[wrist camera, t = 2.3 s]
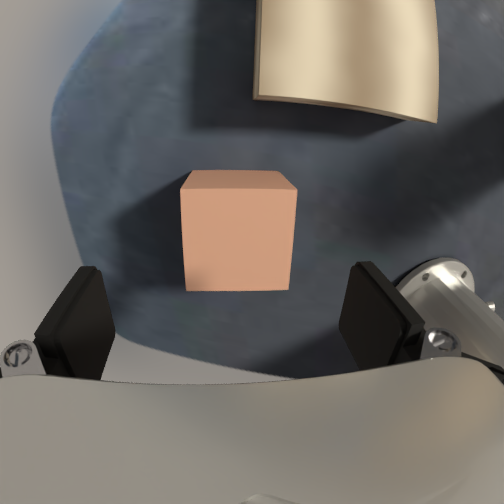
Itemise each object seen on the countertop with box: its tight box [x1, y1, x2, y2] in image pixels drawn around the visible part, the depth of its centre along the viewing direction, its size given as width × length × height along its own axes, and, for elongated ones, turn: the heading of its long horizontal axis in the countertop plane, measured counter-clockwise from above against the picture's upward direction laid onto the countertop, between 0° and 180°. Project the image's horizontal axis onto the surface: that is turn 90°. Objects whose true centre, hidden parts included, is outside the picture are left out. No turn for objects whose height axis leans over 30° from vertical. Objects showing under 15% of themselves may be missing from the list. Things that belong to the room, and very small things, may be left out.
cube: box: [180, 170, 297, 291], centre depth 19 cm, size 6×6×6 cm
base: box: [253, 0, 439, 123], centre depth 15 cm, size 12×12×4 cm
